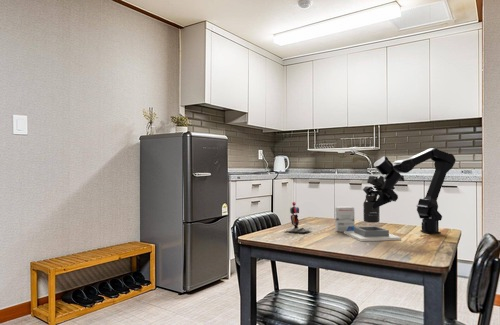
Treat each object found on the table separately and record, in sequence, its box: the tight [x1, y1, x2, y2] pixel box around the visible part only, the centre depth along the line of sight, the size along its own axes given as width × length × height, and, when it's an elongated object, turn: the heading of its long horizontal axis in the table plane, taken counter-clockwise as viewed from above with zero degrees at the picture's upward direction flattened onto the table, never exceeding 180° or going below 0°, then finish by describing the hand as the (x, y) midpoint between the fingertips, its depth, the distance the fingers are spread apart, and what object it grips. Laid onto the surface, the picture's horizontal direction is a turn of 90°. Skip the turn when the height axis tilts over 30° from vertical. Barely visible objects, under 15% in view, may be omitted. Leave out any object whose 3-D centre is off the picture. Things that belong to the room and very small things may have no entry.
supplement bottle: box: [362, 194, 380, 224], centre depth 158 cm, size 7×7×12 cm
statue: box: [284, 201, 312, 234], centre depth 172 cm, size 11×9×15 cm
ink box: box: [334, 206, 356, 233], centre depth 173 cm, size 9×5×12 cm, turn 84°
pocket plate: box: [343, 225, 402, 242], centre depth 159 cm, size 18×18×4 cm
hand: (368, 207), depth 158 cm, fingers closed on supplement bottle, 7 cm apart
